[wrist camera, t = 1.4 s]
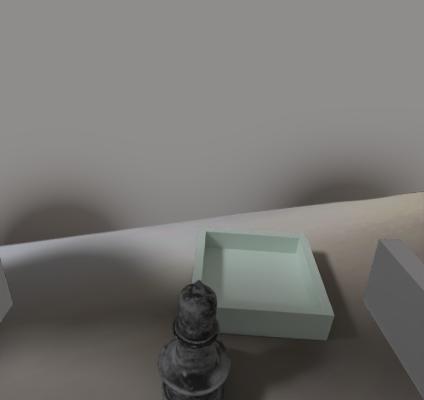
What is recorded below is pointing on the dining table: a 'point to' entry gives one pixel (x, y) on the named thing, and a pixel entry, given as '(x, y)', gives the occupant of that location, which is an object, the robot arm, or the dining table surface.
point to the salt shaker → (194, 349)
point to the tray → (263, 283)
